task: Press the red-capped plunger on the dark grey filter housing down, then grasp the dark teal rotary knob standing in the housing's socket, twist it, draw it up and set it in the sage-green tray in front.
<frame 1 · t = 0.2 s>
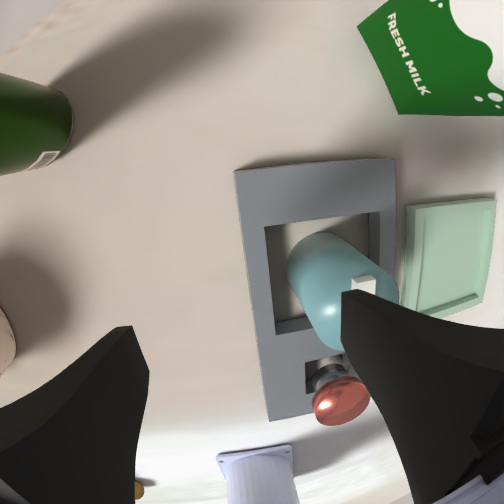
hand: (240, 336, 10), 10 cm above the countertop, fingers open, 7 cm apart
rotary knob: (320, 266, 20), resting in housing
beer can: (46, 128, 15), on the countertop
housing: (321, 304, 21), on the countertop
milk carton: (412, 60, 16), on the countertop
tray: (448, 258, 22), on the countertop
plunger: (336, 391, 20), point 4 cm above the countertop, slide at 0.0 cm
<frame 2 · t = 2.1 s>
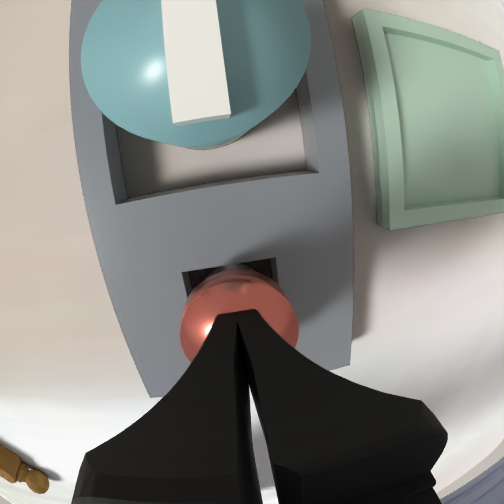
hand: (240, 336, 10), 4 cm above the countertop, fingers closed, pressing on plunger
rotary knob: (203, 92, 11), resting in housing
housing: (213, 163, 12), on the countertop
tray: (447, 120, 12), on the countertop
plunger: (236, 313, 11), point 2 cm above the countertop, slide at 1.6 cm, touching gripper
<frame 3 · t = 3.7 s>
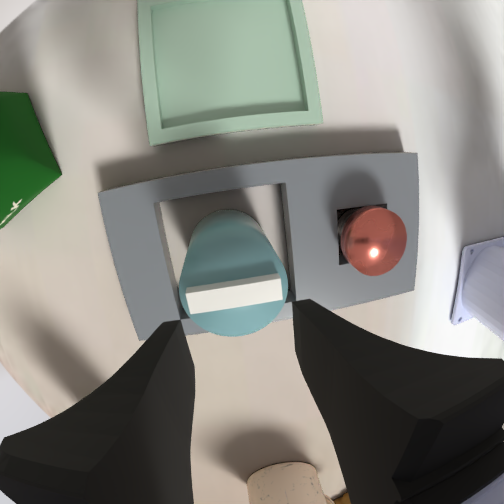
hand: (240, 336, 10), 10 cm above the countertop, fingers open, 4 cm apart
rotary knob: (227, 246, 19), resting in housing
housing: (274, 239, 19), on the countertop
milk carton: (13, 159, 15), on the countertop
tray: (226, 56, 15), on the countertop
plunger: (366, 235, 18), point 2 cm above the countertop, slide at 1.7 cm
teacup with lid: (290, 477, 30), on the countertop
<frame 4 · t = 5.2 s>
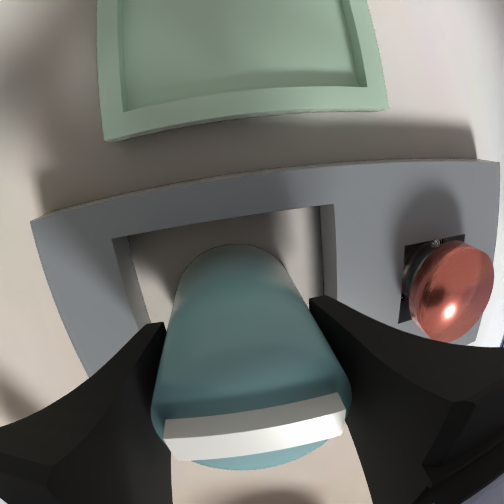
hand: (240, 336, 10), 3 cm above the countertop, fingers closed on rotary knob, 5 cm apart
rotary knob: (235, 300, 12), resting in housing, touching gripper
housing: (306, 288, 12), on the countertop
tray: (233, 2, 8), on the countertop
plunger: (439, 282, 11), point 2 cm above the countertop, slide at 1.7 cm
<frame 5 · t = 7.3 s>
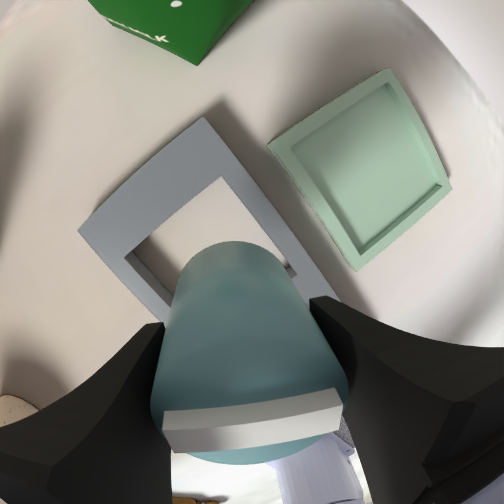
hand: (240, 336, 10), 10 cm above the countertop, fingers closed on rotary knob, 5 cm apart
rotary knob: (234, 297, 12), point 7 cm above the countertop, touching gripper
housing: (239, 290, 20), on the countertop
milk carton: (187, 4, 14), on the countertop
tray: (369, 165, 18), on the countertop
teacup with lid: (33, 426, 23), on the countertop
when the fingers open (4 cm above the countertop, at t = 9.5 s): rotary knob stays where it is, resting on tray.
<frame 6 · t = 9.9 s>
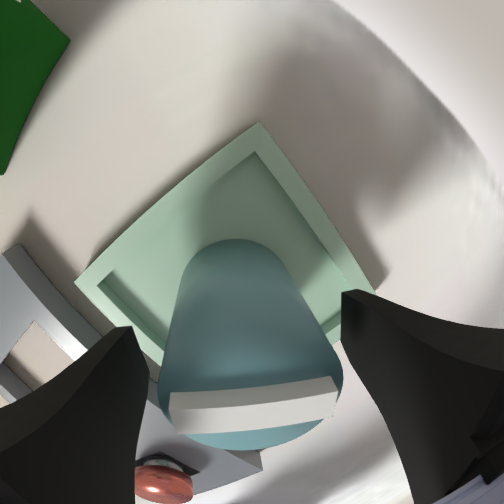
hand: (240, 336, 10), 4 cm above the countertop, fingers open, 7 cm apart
rotary knob: (235, 292, 13), resting on tray
housing: (101, 410, 15), on the countertop
tray: (233, 287, 13), on the countertop
plunger: (162, 473, 15), point 2 cm above the countertop, slide at 1.7 cm
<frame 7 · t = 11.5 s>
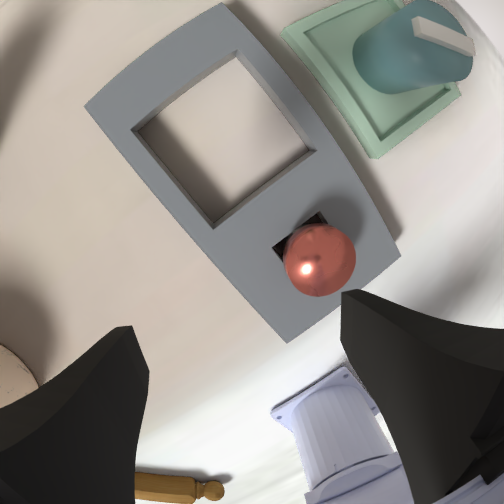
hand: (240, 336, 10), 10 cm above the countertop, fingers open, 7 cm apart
rotary knob: (383, 62, 16), resting on tray
housing: (254, 176, 18), on the countertop
tap handle: (106, 468, 27), on the countertop
tray: (379, 63, 16), on the countertop
plunger: (313, 253, 18), point 2 cm above the countertop, slide at 1.7 cm
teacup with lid: (14, 384, 21), on the countertop
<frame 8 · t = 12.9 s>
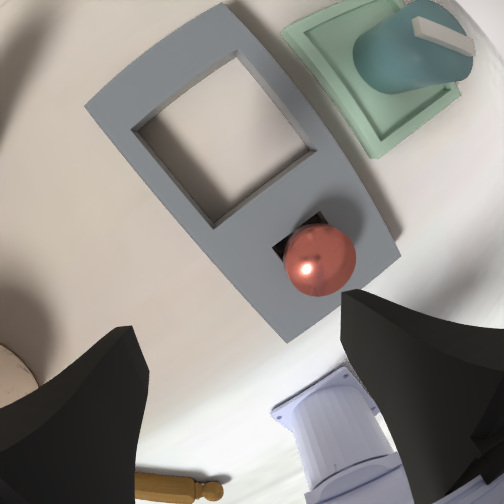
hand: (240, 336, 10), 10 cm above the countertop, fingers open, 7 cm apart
rotary knob: (383, 62, 16), resting on tray
housing: (254, 176, 18), on the countertop
tap handle: (105, 468, 27), on the countertop
tray: (379, 63, 16), on the countertop
plunger: (314, 253, 18), point 2 cm above the countertop, slide at 1.7 cm
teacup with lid: (14, 384, 21), on the countertop
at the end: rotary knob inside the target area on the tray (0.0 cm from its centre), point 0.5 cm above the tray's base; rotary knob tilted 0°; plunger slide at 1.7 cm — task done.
